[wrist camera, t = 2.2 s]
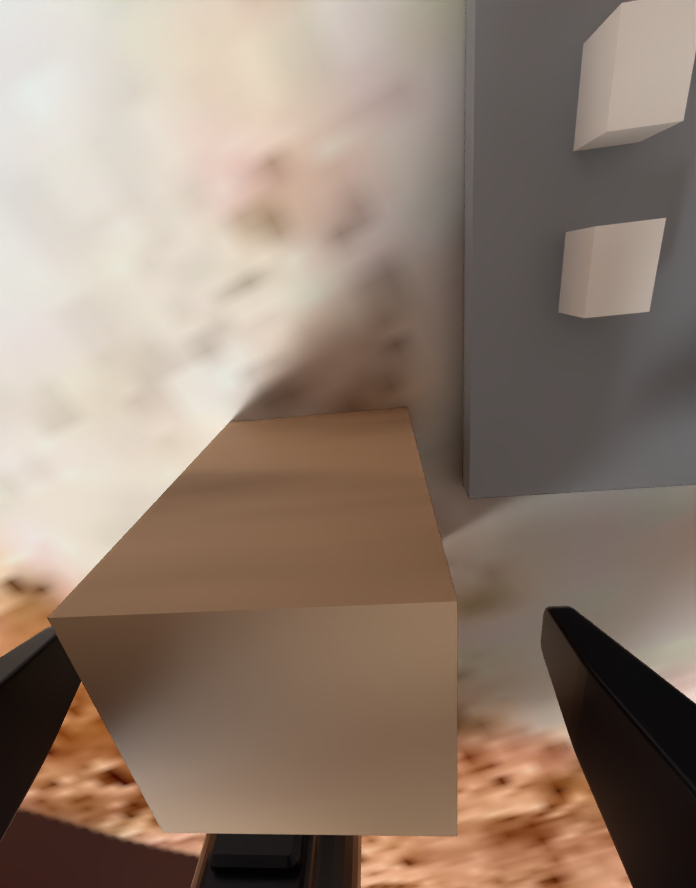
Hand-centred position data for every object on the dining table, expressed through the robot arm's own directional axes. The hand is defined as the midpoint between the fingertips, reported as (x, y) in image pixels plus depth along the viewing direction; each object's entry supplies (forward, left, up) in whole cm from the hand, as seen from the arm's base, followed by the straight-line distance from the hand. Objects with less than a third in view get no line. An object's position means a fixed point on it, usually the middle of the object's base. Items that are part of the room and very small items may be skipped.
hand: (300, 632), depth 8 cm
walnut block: (0, 0, -5) cm, 5 cm away
